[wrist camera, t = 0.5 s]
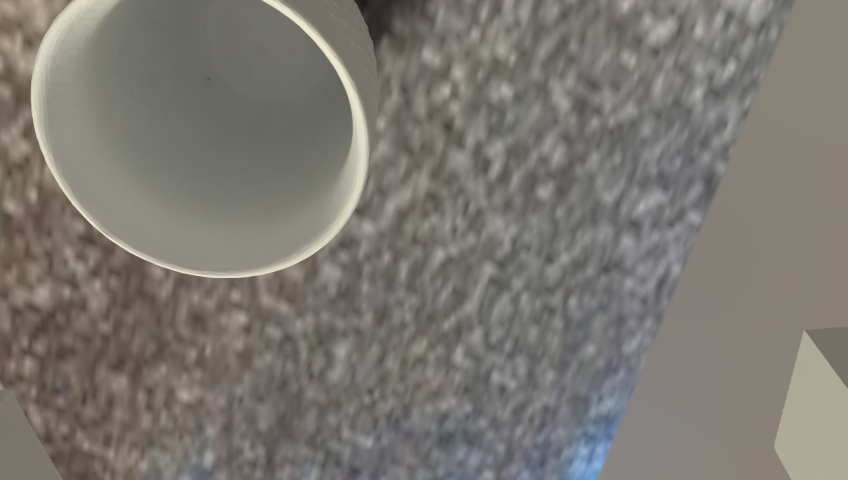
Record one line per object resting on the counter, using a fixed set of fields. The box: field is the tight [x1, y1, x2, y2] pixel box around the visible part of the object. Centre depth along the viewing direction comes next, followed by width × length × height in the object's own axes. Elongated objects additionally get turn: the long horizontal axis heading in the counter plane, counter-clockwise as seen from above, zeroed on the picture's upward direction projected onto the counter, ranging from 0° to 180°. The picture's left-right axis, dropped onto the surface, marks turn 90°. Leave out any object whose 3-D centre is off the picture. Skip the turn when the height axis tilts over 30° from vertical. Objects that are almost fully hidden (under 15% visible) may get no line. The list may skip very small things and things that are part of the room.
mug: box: [31, 0, 379, 278], centre depth 27 cm, size 15×11×13 cm
